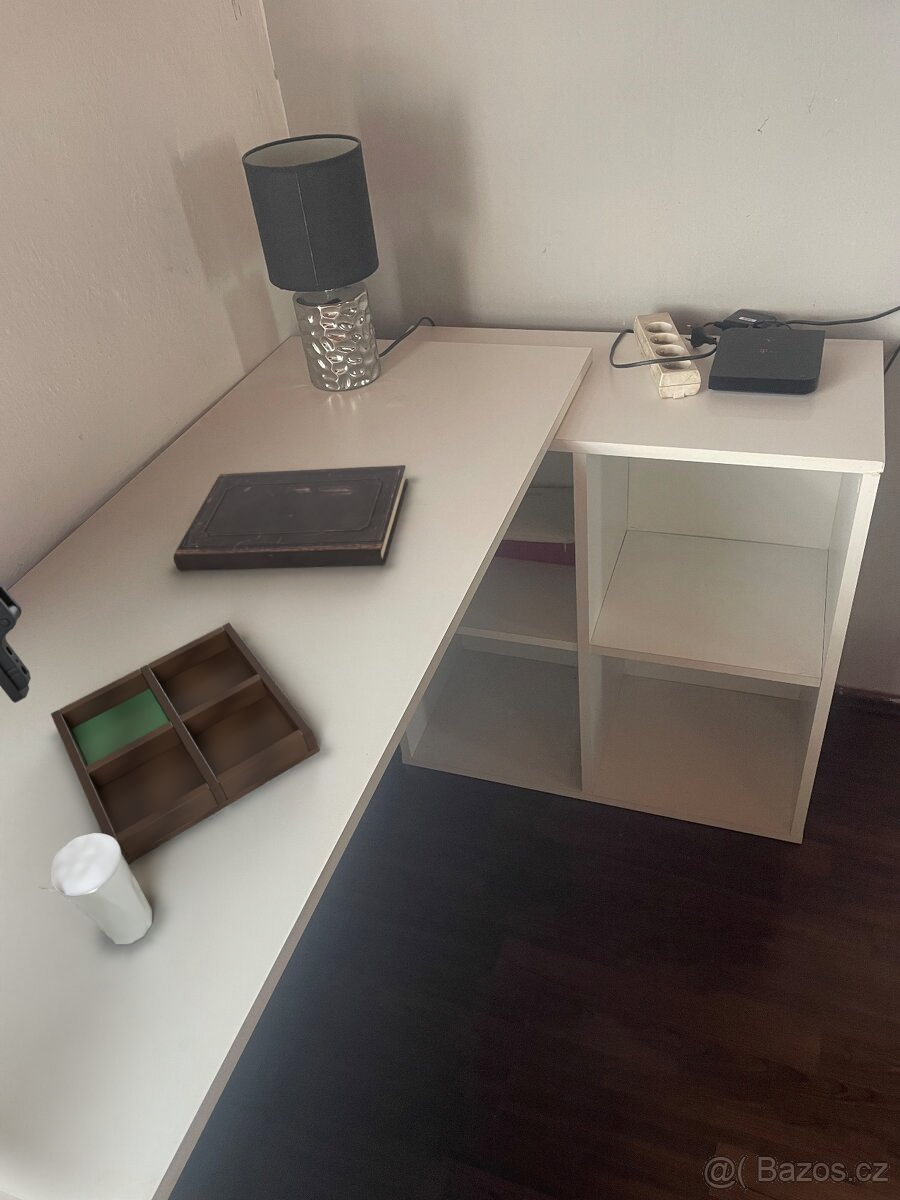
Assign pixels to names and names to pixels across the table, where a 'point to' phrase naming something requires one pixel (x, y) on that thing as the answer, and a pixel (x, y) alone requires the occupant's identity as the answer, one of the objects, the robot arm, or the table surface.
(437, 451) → the table surface
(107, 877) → the milkshake
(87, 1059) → the table surface
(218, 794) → the grid
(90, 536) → the table surface
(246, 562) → the hardcover book
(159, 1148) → the table surface
